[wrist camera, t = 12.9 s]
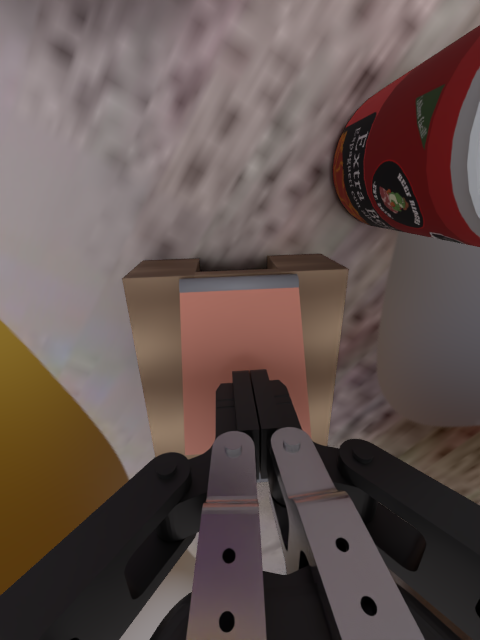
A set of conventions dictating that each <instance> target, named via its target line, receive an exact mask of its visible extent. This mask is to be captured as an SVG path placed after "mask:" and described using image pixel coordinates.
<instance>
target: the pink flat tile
mask: <svg viewBox="0 0 480 640" xmlns="http://www.w3.org/2000/svg"><path fill="white" fill-rule="evenodd" d="M179 292H180V320H181V350H182V380H183V409H184V439H185V455H196V454H203V453H205V452H206V451H207V450H209V449H210V448H211V446H212V445H213V443H214V441H215V435H216V390H217V388H218V387H219V385H220V384H221V383H232V371H242V370H249V371H250V370H258V369H266V370H267V373H268V377H269V380H280V381H281V382H282V383H283V384H284V385H285V386H286V387H287V389H288V392H289V395H290V398H291V400H292V404H293V406H294V409H295V411H296V414H297V417H298V419H299V422H300V425H301V428H302V430H303V431H304V432H306V433H307V434H308V435H309V436H310V438H311V427H310V415H309V403H308V391H307V379H306V367H305V355H304V343H303V331H302V319H301V307H300V296H299V279H298V275H297V274H283V275H259V276H235V277H212V278H188V279H179Z"/></svg>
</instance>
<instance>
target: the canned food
mask: <svg viewBox="0 0 480 640" xmlns="http://www.w3.org/2000/svg"><path fill="white" fill-rule="evenodd" d="M333 179H334V184H335V188H336V192H337V194H338V196H339V198H340V200H341V202H342V204H343V205H344V206H345V208H346V209H347V210H348V211H349V213H350V214H351V215H353V216H354V217H355V218H357V219H358V220H359V221H361V222H364V223H366V224H368V225H371V226H376V227H381V228H386V229H392V230H397V231H402V232H407V233H412V234H417V235H422V236H427V237H432V238H437V239H442V240H447V241H453V242H458V243H462V244H468V245H473V246H477V247H480V26H478V27H476V28H475V29H473V30H472V31H470V32H469V33H467V34H466V35H464V36H463V37H461V38H460V39H458V40H457V41H455V42H454V43H452V44H451V45H449V46H447V47H446V48H444V49H443V50H441V51H440V52H438V53H437V54H435V55H434V56H432V57H431V58H429V59H428V60H426V61H425V62H423V63H422V64H420V65H419V66H417V67H415V68H414V69H412V70H411V71H409V72H408V73H406V74H405V75H403V76H402V77H400V78H399V79H397V80H396V81H394V82H393V83H391V84H390V85H388V86H387V87H385V88H383V89H382V90H380V91H379V92H378V93H376V94H375V95H373V96H372V97H371V98H369V99H368V100H367V101H366V102H365V103H364V104H363V105H362V106H361V107H360V108H359V109H358V110H357V111H356V112H355V114H354V115H353V117H352V118H351V119H350V121H349V122H348V124H347V125H346V127H345V129H344V132H343V134H342V136H341V138H340V140H339V142H338V145H337V149H336V152H335V155H334V164H333Z"/></svg>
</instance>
